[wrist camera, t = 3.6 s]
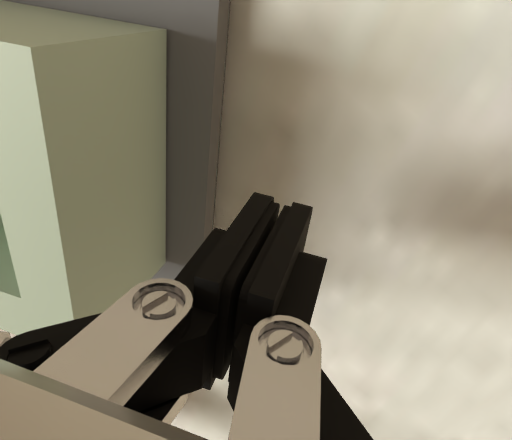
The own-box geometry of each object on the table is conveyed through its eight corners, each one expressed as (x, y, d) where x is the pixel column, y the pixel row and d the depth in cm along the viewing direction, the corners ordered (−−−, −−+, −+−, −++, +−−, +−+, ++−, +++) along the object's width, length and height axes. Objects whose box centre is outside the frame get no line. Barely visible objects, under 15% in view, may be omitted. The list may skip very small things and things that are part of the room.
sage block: (166, 29, 14) (30, 47, 9) (165, 262, 19) (79, 359, 14) (-65, -12, 16) (-285, -17, 11) (-9, 209, 21) (-138, 276, 16)
